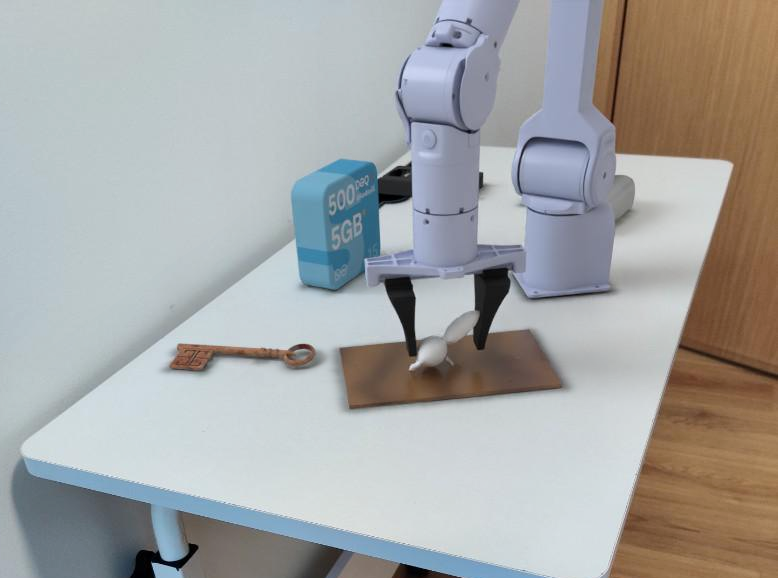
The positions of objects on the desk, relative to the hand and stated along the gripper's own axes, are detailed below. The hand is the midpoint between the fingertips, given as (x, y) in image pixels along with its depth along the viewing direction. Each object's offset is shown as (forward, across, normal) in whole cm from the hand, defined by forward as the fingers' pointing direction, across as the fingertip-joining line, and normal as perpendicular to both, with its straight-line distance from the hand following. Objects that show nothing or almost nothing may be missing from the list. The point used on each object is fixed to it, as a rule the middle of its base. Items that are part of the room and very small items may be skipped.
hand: (444, 348), depth 81 cm
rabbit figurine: (+2, 0, 0) cm, 2 cm away
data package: (+2, -8, +27) cm, 28 cm away
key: (+2, -20, +6) cm, 21 cm away
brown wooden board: (+2, 0, 0) cm, 2 cm away
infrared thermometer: (+2, +24, +40) cm, 47 cm away
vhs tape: (+2, +8, +57) cm, 58 cm away
